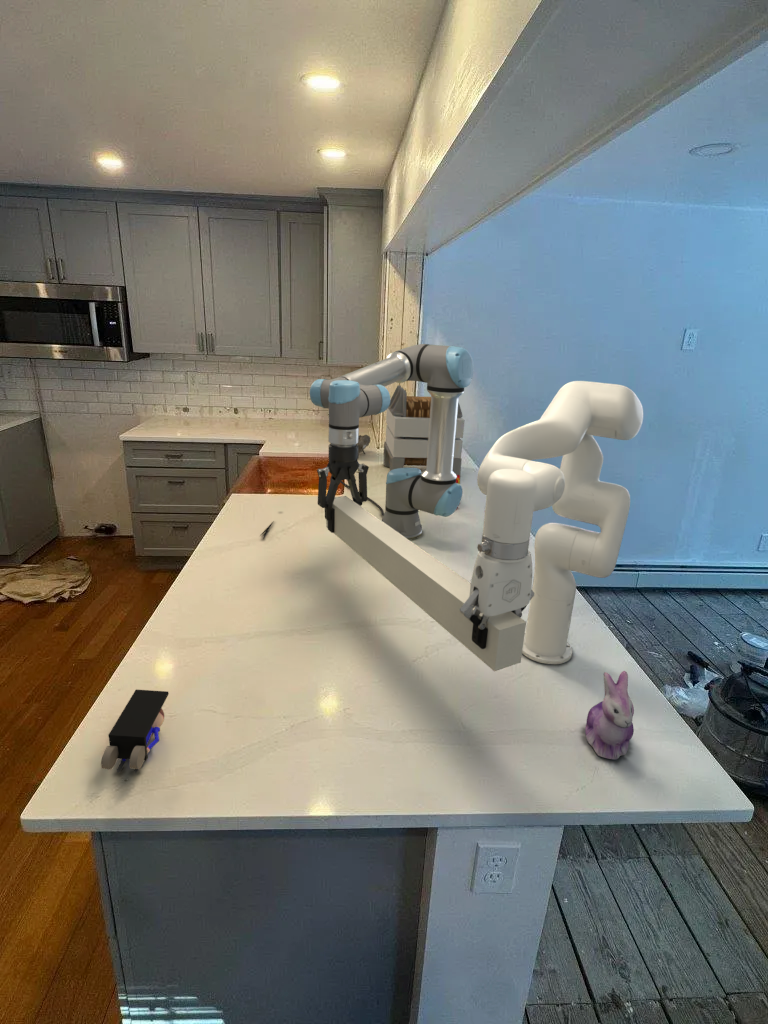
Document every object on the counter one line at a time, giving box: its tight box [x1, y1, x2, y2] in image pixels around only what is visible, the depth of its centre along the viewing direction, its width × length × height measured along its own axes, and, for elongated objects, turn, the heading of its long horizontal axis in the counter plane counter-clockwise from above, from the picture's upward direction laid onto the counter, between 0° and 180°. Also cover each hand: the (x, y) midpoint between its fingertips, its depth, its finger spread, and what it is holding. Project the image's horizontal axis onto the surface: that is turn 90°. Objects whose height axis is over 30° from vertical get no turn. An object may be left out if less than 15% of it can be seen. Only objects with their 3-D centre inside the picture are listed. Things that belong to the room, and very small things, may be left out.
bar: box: [325, 495, 527, 672], centre depth 124 cm, size 71×6×8 cm, turn 29°
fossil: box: [357, 434, 371, 455], centre depth 304 cm, size 22×10×15 cm
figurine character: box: [100, 689, 169, 774], centre depth 98 cm, size 7×8×15 cm
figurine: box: [584, 670, 635, 760], centre depth 103 cm, size 9×10×15 cm
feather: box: [260, 520, 275, 540], centre depth 202 cm, size 2×28×2 cm
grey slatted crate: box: [383, 384, 465, 476], centre depth 268 cm, size 34×33×41 cm
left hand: (342, 528), depth 151 cm, fingers closed on bar, 6 cm apart
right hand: (493, 639), depth 99 cm, fingers closed on bar, 5 cm apart
